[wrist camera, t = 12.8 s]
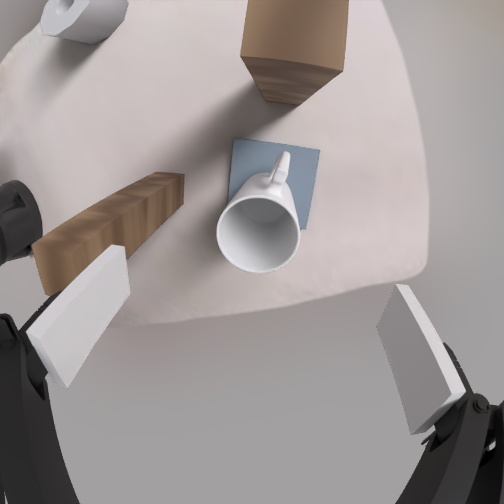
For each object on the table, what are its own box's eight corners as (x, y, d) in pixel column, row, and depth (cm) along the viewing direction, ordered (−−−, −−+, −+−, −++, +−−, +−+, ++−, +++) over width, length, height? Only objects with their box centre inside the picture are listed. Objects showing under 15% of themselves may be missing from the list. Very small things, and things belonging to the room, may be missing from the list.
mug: (281, 231, 34) (280, 284, 24) (230, 212, 34) (206, 257, 23) (313, 157, 30) (331, 176, 19) (258, 136, 29) (245, 141, 19)
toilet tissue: (110, -28, 18) (80, -46, 10) (136, 16, 23) (102, -2, 15) (67, 8, 20) (33, -2, 13) (87, 55, 25) (48, 49, 18)
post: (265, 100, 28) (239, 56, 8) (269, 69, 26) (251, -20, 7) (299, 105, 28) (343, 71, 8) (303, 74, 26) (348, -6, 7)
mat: (227, 216, 35) (226, 218, 34) (234, 138, 30) (233, 138, 30) (305, 227, 35) (305, 229, 34) (319, 150, 30) (319, 150, 29)
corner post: (155, 201, 35) (45, 294, 15) (155, 172, 33) (31, 244, 13) (183, 203, 35) (84, 307, 15) (184, 173, 33) (71, 253, 13)
